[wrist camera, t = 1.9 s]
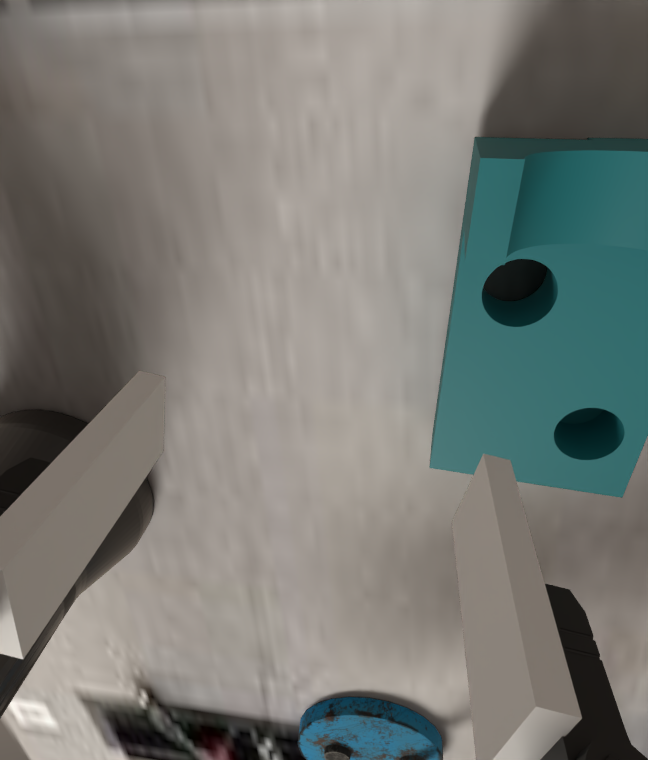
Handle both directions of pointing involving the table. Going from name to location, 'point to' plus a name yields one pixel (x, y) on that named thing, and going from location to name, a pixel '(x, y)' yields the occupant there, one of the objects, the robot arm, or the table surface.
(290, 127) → the table surface
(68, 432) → the robot arm
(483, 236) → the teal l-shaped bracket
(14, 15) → the table surface
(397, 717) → the desk lamp
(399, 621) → the table surface
